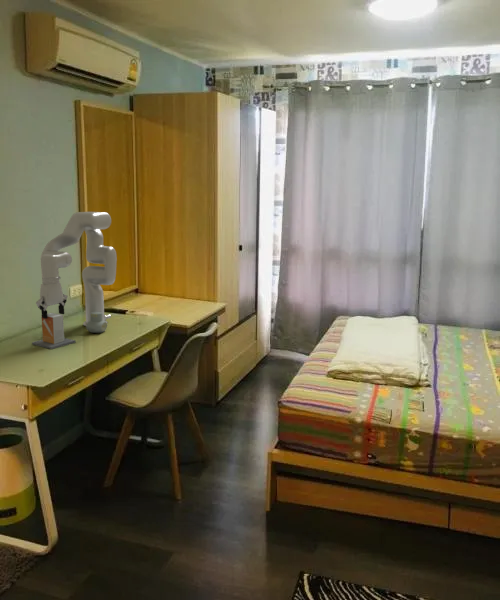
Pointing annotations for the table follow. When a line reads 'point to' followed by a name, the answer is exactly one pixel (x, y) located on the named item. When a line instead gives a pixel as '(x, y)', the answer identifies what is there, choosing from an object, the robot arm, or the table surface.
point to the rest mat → (53, 346)
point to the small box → (53, 328)
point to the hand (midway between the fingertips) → (53, 316)
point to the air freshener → (96, 323)
